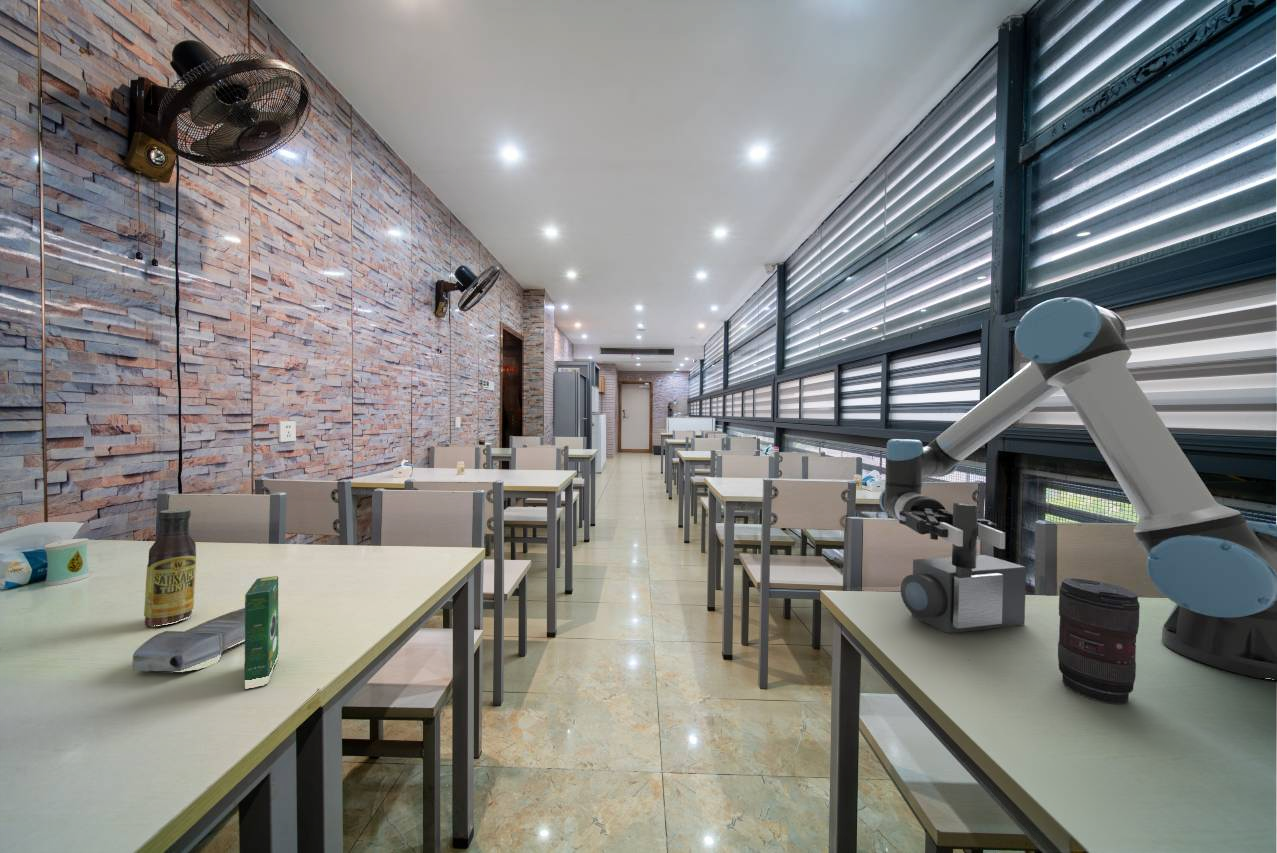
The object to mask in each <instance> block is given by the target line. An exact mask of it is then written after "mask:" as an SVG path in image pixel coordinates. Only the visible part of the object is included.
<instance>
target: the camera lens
mask: <svg viewBox="0 0 1277 853" xmlns="http://www.w3.org/2000/svg"><path fill="white" fill-rule="evenodd" d="M1058 591H1059V594H1058V596H1059V597H1058V610H1059V611H1058V615H1059V631H1058V634H1059V635H1058V642H1057V660H1058V670H1059V671H1060V672H1061V674H1062V676H1061V677H1062V682H1063V685H1065V687H1067V688H1068V687H1069V688H1068V689H1070V690H1071V689H1072V690H1071V691H1072V692H1074V691H1075V692H1074V693H1076V692H1078V693H1080V694H1079V695H1081V694H1082V695H1081V696H1083V695H1084V696H1083V697H1085V696H1086V698H1088V697H1089V698H1088V699H1091V698H1092V699H1091V700H1094V699H1095V700H1094V701H1097V700H1098V701H1097V702H1101V701H1102V702H1101V703H1106V704H1114V705H1120V704H1126V703H1128V701H1129V697H1130V693H1132V692H1133V691H1134V685H1135V681H1136V671H1137V663H1136V657H1137V656H1136V655H1137V654H1136V653H1137V651H1136V650H1137V645H1136V643H1137V635H1138V633H1139V628H1140V606H1141V605H1140V602H1139V598H1138V597H1139V596H1138V594H1137V593H1136V592H1134V591H1133V590H1130V589H1127V588H1124V587H1121V586H1118V585H1115V584H1110V583H1107V582H1101V581H1096V580H1089V579H1083V578H1081V579H1080V578H1073V577H1072V578H1064V579H1062V580H1061V585H1060V586H1059V590H1058ZM1078 693H1077V694H1078Z"/></svg>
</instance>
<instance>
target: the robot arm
mask: <svg viewBox="0 0 1277 853" xmlns="http://www.w3.org/2000/svg"><path fill="white" fill-rule="evenodd" d="M1127 331H1128V330H1127V327H1126V324H1125V322H1124V320H1123V319H1122V318H1121V317H1120V316H1119V315H1118V314H1117V313H1115V312H1114V311H1112V310H1110V309H1108V308H1104V307H1102V306H1099V305H1096V304H1094V303H1093V302H1091V301H1090V300H1087V299H1084V298H1080V297H1066V296H1065V297H1063V296H1062V297H1055V298H1051V299H1048V300H1045V301H1043V302H1041V303H1038V304H1036V305H1035V306H1033V307H1032V308H1031V309H1029V310H1028V311H1027V312H1026V313H1024V315H1023V316H1022V317H1021V319H1020V320H1019V322H1018V324H1017V326H1016V327H1015V331H1014V343H1015V344H1014V345H1015V346H1016V348H1017V350H1018V352H1019V353H1020V354H1021V355H1022V356H1023V357H1024V358H1026V359H1027V360H1028V361H1030V362H1028V364H1026V365H1025V366H1024V367H1023V368H1022V369H1020V370H1019V371H1018V372H1016V373H1015V374H1014V375H1013V376H1012V377H1010V378H1009V379H1007V381H1005V382H1004V383H1003V384H1002V385H1000V386H999V387H997V389H996V390H994V391H993V392H992V393H991V394H989V395H988V396H986V397H985V398H984V399H983V400H982V401H980V402H979V403H978V404H977V405H975V406H974V407H973V408H972V409H970V410H969V411H967V413H965V414H964V415H962V417H960V418H959V419H958V420H957V421H956V422H954V423H953V424H952V425H951V426H949V427H948V428H947V429H946V430H944V431H943V432H942V433H941V434H940V435H938V436H936V438H935V439H933V440H932V441H931V442H929V443H928V444H927V445H926V446H923V442H922V441H921V440H920V439H909V438H908V439H904V438H903V439H902V438H900V439H899V438H892V439H889V440H888V441H887V442H886V451H885V452H886V453H885V484H884V486H885V487H884V489H883V490H882V492H881V494H880V495H879V498H878V500H879V501H878V502H879V507H880V509H881V510H882V511H883V512H884V513H885V514H886V515H887V516H889V517H890V518H892V519H894V520H897V521H898V523H899V524H900V525H904V526H906V527H908V528H910V529H911V530H912V531H913V532H914V531H915V532H916V533H917V534H919V535H926V534H929V535H930V536H929V538H930V540H934V541H938V540H939V538H941V539H942V540H945V541H947V542H949V543H951V545H952V544H954V545H956V546H961V547H963V530H960V529H958V528H956V527H954V526H953V512H951V511H948V510H947V509H946V508H945V505H943V504H942V503H941V502H940V501H939V500H937V499H935V498H932V497H928V496H926V495H924V494H922V486H923V480H922V479H923V478H931V477H932V478H934V477H935V478H936V477H937V478H940V477H944V476H948V475H951V474H953V473H954V472H955V471H956V470H957V468H958V467H959V463H961V461H964V460H965V459H966V458H967V457H969V456H970V455H972V454H973V453H974V452H975V451H977V450H978V449H979V448H980V447H982V446H984V445H985V444H987V443H988V442H989V441H991V440H992V439H993V438H995V437H996V436H997V435H998V434H999V435H1000V433H1001V432H1003V431H1004V430H1006V429H1007V428H1009V427H1010V426H1011V425H1013V424H1014V423H1015V422H1017V421H1018V420H1020V419H1021V418H1022V417H1024V416H1025V415H1027V414H1028V413H1029V412H1031V411H1032V410H1033V409H1035V408H1036V407H1037V406H1039V405H1040V404H1041V403H1043V402H1044V401H1046V400H1047V399H1049V398H1050V397H1051V396H1052V395H1054V394H1056V392H1058V391H1060V390H1061V389H1062V390H1063V392H1064V393H1065V396H1066V397H1067V399H1068V401H1069V402H1070V404H1071V405H1072V407H1073V408H1074V410H1075V411H1076V414H1077V415H1078V417H1079V419H1080V420H1081V421H1082V424H1083V425H1084V427H1085V429H1086V430H1087V432H1088V434H1089V435H1090V437H1091V438H1092V440H1093V442H1094V444H1095V445H1096V447H1097V449H1098V450H1099V452H1100V454H1101V455H1102V457H1103V459H1104V460H1105V462H1106V464H1107V466H1108V467H1109V469H1110V470H1111V472H1112V474H1113V476H1114V477H1115V479H1116V482H1118V484H1119V486H1120V487H1121V489H1122V491H1123V492H1124V494H1125V496H1126V497H1127V499H1128V500H1129V503H1130V505H1131V506H1132V508H1133V509H1134V511H1135V513H1136V514H1137V516H1138V522H1137V523H1136V524H1135V527H1134V528H1133V533H1134V534H1135V536H1136V538H1137V539H1138V541H1139V543H1140V545H1141V547H1142V548H1143V550H1144V552H1145V554H1146V555H1147V557H1146V570H1147V575H1148V576H1149V577H1148V578H1150V581H1151V582H1152V584H1153V586H1154V588H1156V590H1158V591H1159V592H1160V593H1161V594H1162V595H1163V596H1164V597H1166V598H1167V600H1170V601H1171V602H1173V603H1175V605H1174V607H1173V608H1172V610H1171V611H1170V614H1169V615H1168V617H1167V619H1166V620H1165V622H1164V624H1163V626H1162V628H1161V642H1162V644H1164V645H1165V646H1166V647H1167V648H1168V649H1171V651H1173V652H1176V653H1178V654H1180V655H1182V656H1184V657H1187V658H1189V659H1191V660H1194V661H1197V662H1199V663H1202V664H1206V665H1208V666H1212V667H1214V668H1218V669H1221V670H1224V671H1227V672H1233V673H1236V674H1239V675H1244V676H1247V677H1248V676H1249V677H1252V678H1257V679H1261V678H1271V679H1274V680H1277V524H1275V523H1267V522H1261V521H1254V520H1253V521H1252V520H1246V519H1245V517H1244V515H1243V514H1242V513H1241V512H1240V511H1239V510H1237V509H1233V508H1231V507H1228V506H1225V505H1223V504H1220V503H1219V502H1217V501H1216V500H1215V498H1214V496H1213V495H1212V493H1211V492H1210V491H1209V489H1208V487H1207V486H1206V484H1205V483H1204V482H1203V480H1202V479H1201V477H1200V476H1199V474H1198V473H1197V470H1196V469H1195V467H1193V465H1192V464H1191V462H1190V460H1189V459H1188V457H1187V456H1186V454H1185V453H1184V451H1183V450H1182V448H1181V447H1180V445H1179V444H1178V443H1177V440H1175V438H1174V437H1173V435H1172V433H1171V431H1169V428H1167V426H1166V424H1165V422H1164V421H1163V420H1162V418H1161V416H1159V414H1158V413H1157V411H1156V409H1155V408H1154V406H1153V405H1152V403H1151V402H1150V400H1149V398H1148V397H1147V396H1146V395H1145V392H1144V391H1143V390H1142V388H1141V387H1140V385H1139V384H1138V382H1137V381H1136V379H1135V378H1134V376H1133V375H1132V373H1131V372H1130V371H1129V369H1128V367H1127V364H1128V361H1129V360H1130V359H1131V356H1132V354H1133V353H1132V351H1131V349H1130V348H1129V346H1128V345H1127V343H1126V340H1127ZM977 540H979V541H982V542H984V543H986V544H988V545H990V546H993V547H996V548H997V549H1000V550H1001V549H1002V550H1005V549H1006V532H1003V531H1002V530H998V524H996V523H993V522H990V521H989V520H988V519H987V520H986V519H985V520H984V519H982V518H978V522H977Z"/></svg>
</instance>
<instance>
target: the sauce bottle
mask: <svg viewBox="0 0 1277 853" xmlns="http://www.w3.org/2000/svg"><path fill="white" fill-rule="evenodd" d="M190 518H191V509H189V508H172V509H164V510H160V511H159V512H158V521H159V531H158V537H157V538H156V540H155V542H154V543H153V544H152V546H151V547H150V548H149V550H148V561H147V566H146V578H145V591H144V594H145V595H144V610H143V611H144V612H143V616H144V625H145V626H146V625H147V626H146V627H148V626H154V625H155V626H156V625H162V624H167V623H172V622H176V621H179V620H181V619H184V618H186V617H189V616H190V615H191V614H193V610H194V607H195V606H194V605H195V604H194V602H195V589H196V588H195V587H196V572H197V571H196V568H197V549H196V548H197V545H196V541H195V540H194V539H193V538H192V537H191V535H190V528H189V524H190ZM191 616H192V615H191ZM191 616H190V617H191Z"/></svg>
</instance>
